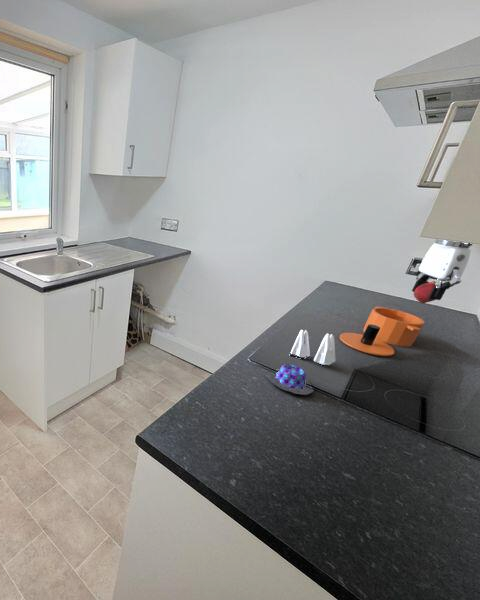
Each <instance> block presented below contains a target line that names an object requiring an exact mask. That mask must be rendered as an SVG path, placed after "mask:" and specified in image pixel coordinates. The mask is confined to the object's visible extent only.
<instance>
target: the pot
mask: <svg viewBox="0 0 480 600" xmlns="http://www.w3.org/2000/svg"><path fill="white" fill-rule="evenodd" d="M425 323H426V322H425V320H424V319H422V318H421V317H418V316H417V315H415V314H411V313H409V312H406V311H402V310H399V309H393V308H388V307H383V306H375V307H374V308H372V309H371V311H370V313H369V315H368V318H367V320H366V322H365V325H364V327H363V329H362V330H363V331H362V332H363V333H364V332H365V330H366V328H367V326H368V325H369V324H372V325H376V326H378V327H380V330H379V332H378V334H377V336H376V338H375V339H377V340H380V341H382V342H384V343H386V344H387V345H392V346H396V347H406V348H407V347H412V346H413V344H414V343H415V341H416V340H417V337H418V336H419V334H420V332H421V331H422V330H423V329H422V328H423V327H424V325H425Z"/></svg>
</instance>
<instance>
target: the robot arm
mask: <svg viewBox="0 0 480 600" xmlns="http://www.w3.org/2000/svg"><path fill="white" fill-rule="evenodd" d="M473 245H474V244H470V243H462V242H453V241H446V240H438V239H437V238H436V239H435V241H434V243H433V244H432V245H431V246H430V248H429V249H428V251H427V252H426V254H425V255H424V257H423V258H422V260H421V263H420V264H418V265H416V266H415V273H416V278H415V280H416V281H415V283H414V285H413V288H412V289H411V292H413V293H414V291H415V289H416V288H417V287H418V286H420V285H422V284H425V283H429V282H430V281H429V280H430V279H431V278H435V279H436V283H435V285H436V287H434V288H433V289H432V291H431V293H430V295H429V297H428V298H429V299H434V301H441V300H442V298H443V297H444V294H445V293H446V290H449V289H450V288H452V287H454V286H455V285H458V284H460V283H461V282H462V280H461V277H462V275H463V274H464V272H465V269H466V267H467V266H468V263H469V259H470V256H471V251H472V250H471V249H470V248H471V247H472V246H473ZM443 281H444V282H443Z"/></svg>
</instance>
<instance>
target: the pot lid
mask: <svg viewBox="0 0 480 600" xmlns="http://www.w3.org/2000/svg"><path fill="white" fill-rule="evenodd" d="M379 330H380V327H378V326H376V325H372V324H369V325H368V326H367V328H366V330H365V332H364V331H363V334H361V333H355V332H342V333H341V334H339V340H340V341H341V342H342V343H344V344H345V345H347V346H348V347H351V348H352V349H354V350H356V351H359V352H363V353H366V354H369V355H374V356H380V357H391V356H393V355H394V354H395V350H394V348H393V347H392V346H390V344H388V343H384V342H382V341H380V340H377V339H375V338H376V336H377V334H378V332H379Z"/></svg>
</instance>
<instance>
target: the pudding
mask: <svg viewBox="0 0 480 600" xmlns="http://www.w3.org/2000/svg"><path fill="white" fill-rule="evenodd" d="M278 370H279V371H278V372H277V373H276V377H275V378H276V379H277V380H278V381H280V383H281V384H283V385H286V386H289V387H290V388H294V389H296V388H298V389H303V387H305V386H306V380H307V374H306V371H305V370H304V369H303V368H301V367H299V366H298V365H294V364H291V363H287V364H283V365H282V366H281V367H280V368H279V369H278Z"/></svg>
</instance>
